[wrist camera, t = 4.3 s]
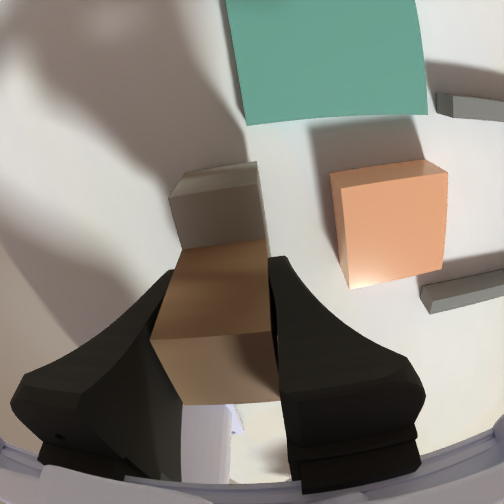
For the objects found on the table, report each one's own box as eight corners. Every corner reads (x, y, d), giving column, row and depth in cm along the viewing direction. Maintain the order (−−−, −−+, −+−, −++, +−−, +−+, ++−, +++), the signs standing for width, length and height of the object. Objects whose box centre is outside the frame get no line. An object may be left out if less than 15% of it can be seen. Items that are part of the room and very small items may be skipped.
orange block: (338, 261, 17) (349, 289, 14) (327, 171, 14) (340, 188, 12) (421, 244, 16) (441, 269, 14) (422, 157, 14) (447, 172, 11)
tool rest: (247, 123, 13) (246, 126, 12) (212, -73, 8) (210, -80, 7) (419, 112, 12) (427, 114, 11) (386, -73, 7) (393, -79, 6)
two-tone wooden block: (218, 303, 16) (201, 433, 10) (185, 172, 13) (119, 273, 6) (276, 297, 16) (286, 429, 10) (256, 161, 13) (259, 256, 6)
